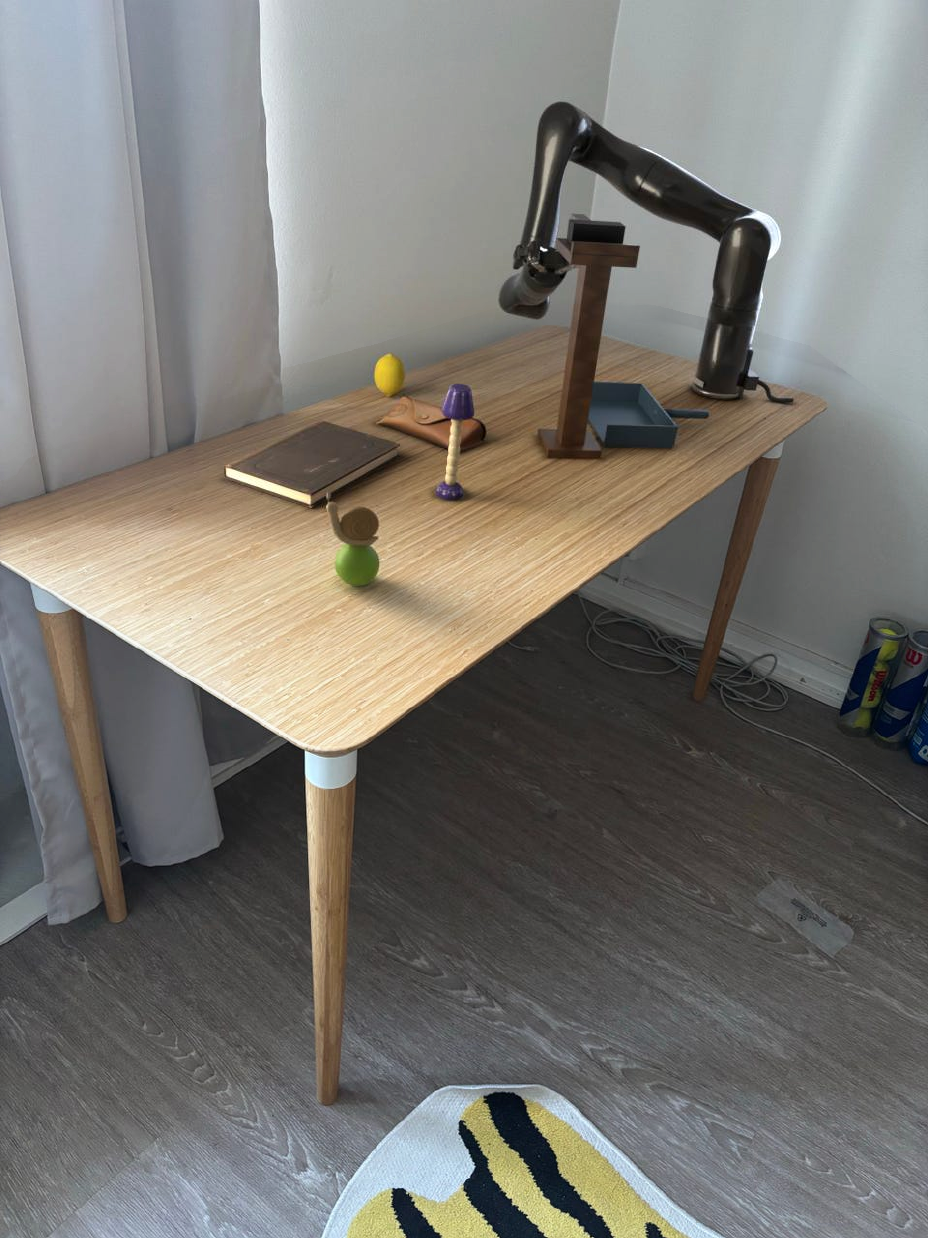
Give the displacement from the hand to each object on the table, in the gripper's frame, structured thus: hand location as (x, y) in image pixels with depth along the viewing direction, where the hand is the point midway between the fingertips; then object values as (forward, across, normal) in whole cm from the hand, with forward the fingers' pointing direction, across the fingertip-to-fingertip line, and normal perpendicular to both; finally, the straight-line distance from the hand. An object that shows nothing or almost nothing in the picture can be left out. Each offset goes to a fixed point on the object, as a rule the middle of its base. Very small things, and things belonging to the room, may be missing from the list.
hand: (563, 244), depth 159 cm
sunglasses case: (0, -23, +33) cm, 40 cm away
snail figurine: (+43, -37, +57) cm, 80 cm away
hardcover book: (+13, -42, +40) cm, 60 cm away
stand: (+4, 0, +35) cm, 35 cm away
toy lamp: (+21, -22, +45) cm, 54 cm away
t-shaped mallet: (+14, 0, +4) cm, 15 cm away
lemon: (-14, -29, +24) cm, 40 cm away
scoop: (-5, +18, +29) cm, 35 cm away
